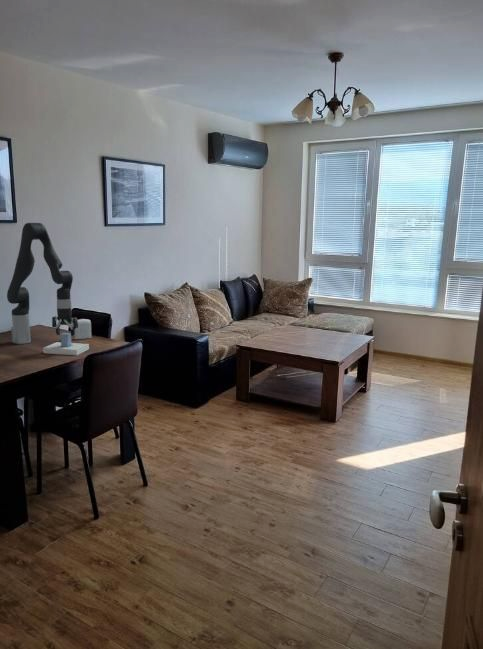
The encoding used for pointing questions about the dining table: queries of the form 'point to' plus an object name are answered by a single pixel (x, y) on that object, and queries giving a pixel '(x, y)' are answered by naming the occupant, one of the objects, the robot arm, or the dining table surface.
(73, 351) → the socket
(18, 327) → the robot arm
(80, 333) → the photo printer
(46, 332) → the dining table surface
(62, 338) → the peg
